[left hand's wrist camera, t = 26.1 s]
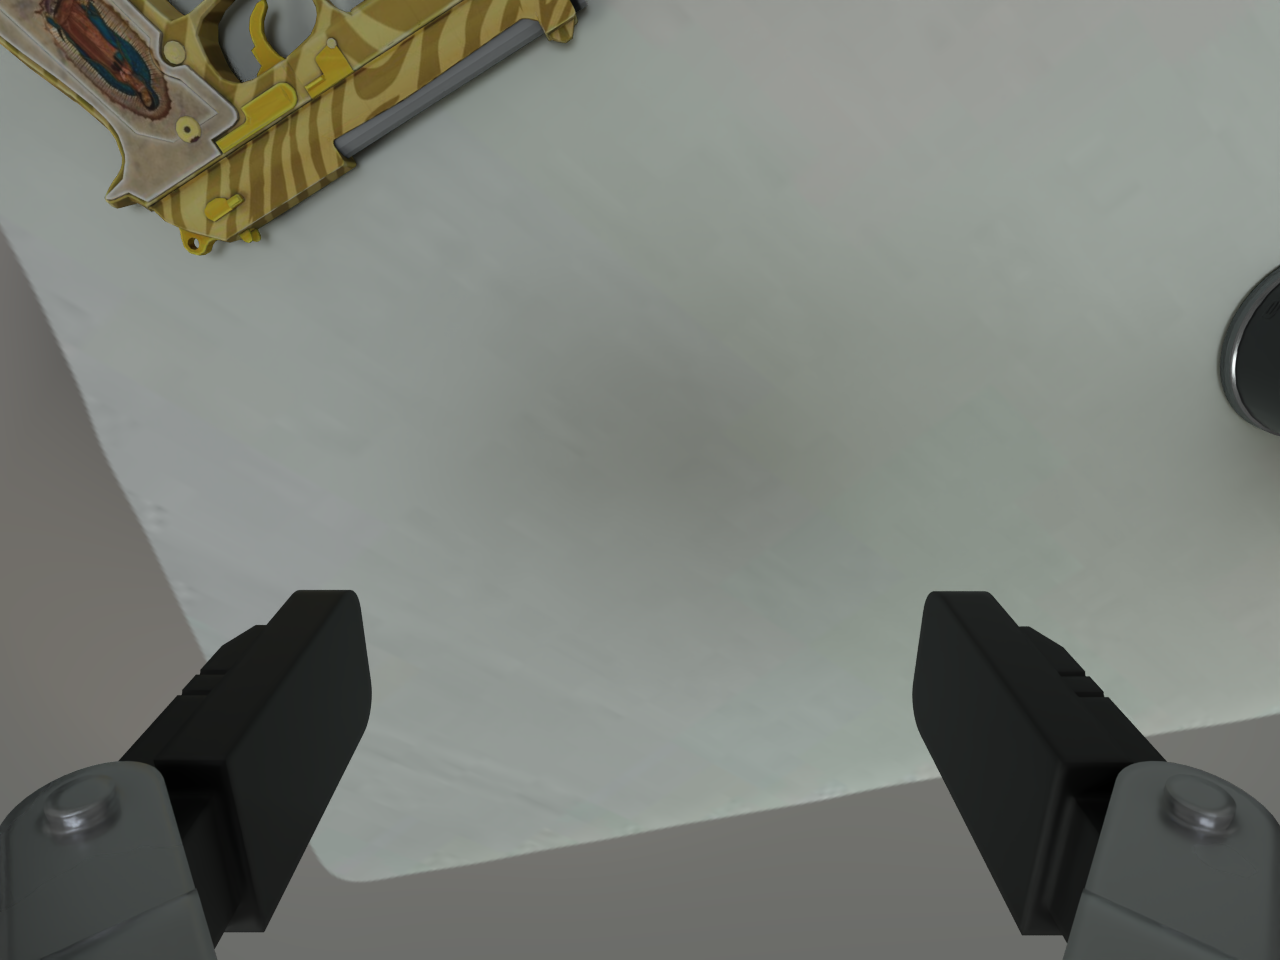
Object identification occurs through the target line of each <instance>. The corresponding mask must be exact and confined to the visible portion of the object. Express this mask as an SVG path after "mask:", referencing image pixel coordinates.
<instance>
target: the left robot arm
mask: <svg viewBox="0 0 1280 960" xmlns="http://www.w3.org/2000/svg"><path fill="white" fill-rule="evenodd" d="M1220 373H1221V381H1222V385H1223V389H1224V392H1225V394H1226V397H1227V399H1228V401H1229V402H1230V404H1231V406H1232V407H1233V408H1234V410H1235V411H1236V412H1237V413H1238V414H1239V415H1240V416H1241V417H1242V418H1243V419H1244V420H1246V421H1247V422H1248V423H1250V424H1252V425H1253V426H1255V427H1257V428H1260V429H1262V430H1265V431H1267V432H1270V433H1272V434H1275V435H1278V436H1280V268H1278V269H1277V270H1275V271H1274V272H1273V273H1271V274H1270V275H1269V276H1268V277H1266V278H1265V279H1264V280H1263V281H1262V282H1261V283H1260V284H1259V285H1258V286H1257V287H1256V288H1255V289H1254V290H1253V291H1252V292H1251V293H1250V294H1249V296H1248V297H1247V298H1246V299H1245V301H1244V302H1243V303H1242V305H1241V306H1240V308H1239V309H1238V311H1237V312H1236V314H1235V316H1234V318H1233V320H1232V322H1231V324H1230V326H1229V328H1228V331H1227V333H1226V336H1225V339H1224V343H1223V347H1222V352H1221V361H1220ZM912 699H913V710H914V716H915V721H916V724H917V727H918V730H919V733H920V735H921V737H922V739H923V741H924V743H925V745H926V747H927V749H928V751H929V752H930V754H931V756H932V758H933V760H934V762H935V764H936V766H937V768H938V770H939V772H940V774H941V776H942V778H943V780H944V782H945V784H946V786H947V788H948V790H949V792H950V794H951V796H952V798H953V800H954V802H955V804H956V806H957V808H958V810H959V812H960V814H961V816H962V818H963V820H964V822H965V824H966V826H967V827H968V829H969V831H970V833H971V835H972V837H973V839H974V841H975V843H976V845H977V847H978V849H979V851H980V853H981V855H982V857H983V859H984V861H985V863H986V865H987V867H988V869H989V871H990V873H991V875H992V877H993V879H994V881H995V883H996V885H997V887H998V889H999V891H1000V893H1001V895H1002V897H1003V899H1004V901H1005V902H1006V905H1007V906H1008V908H1009V910H1010V912H1011V914H1012V916H1013V918H1014V920H1015V922H1016V924H1017V926H1018V928H1019V930H1020V932H1021V934H1022V935H1063V937H1064V939H1065V940H1066V942H1067V946H1066V950H1065V953H1064V957H1063V960H1280V825H1279V824H1278V822H1277V821H1276V819H1275V818H1274V817H1273V815H1272V814H1271V813H1270V812H1269V811H1268V810H1267V809H1266V808H1265V807H1264V806H1263V805H1262V804H1261V803H1259V802H1258V801H1257V800H1256V799H1255V798H1253V797H1252V796H1251V795H1249V794H1248V793H1246V792H1245V791H1243V790H1242V789H1240V788H1239V787H1237V786H1235V785H1233V784H1232V783H1230V782H1228V781H1226V780H1224V779H1222V778H1220V777H1218V776H1216V775H1213V774H1210V773H1208V772H1205V771H1203V770H1200V769H1197V768H1193V767H1190V766H1186V765H1182V764H1177V763H1171V762H1167V761H1166V760H1165V759H1164V758H1163V757H1162V756H1161V755H1160V754H1159V752H1158V751H1157V750H1156V749H1155V748H1154V747H1153V746H1152V745H1151V744H1150V743H1149V741H1148V740H1147V739H1146V738H1145V737H1144V736H1143V735H1142V734H1141V733H1140V731H1139V730H1138V729H1137V728H1136V727H1135V726H1134V725H1133V724H1132V723H1131V722H1130V720H1129V719H1128V718H1127V717H1126V716H1125V715H1124V714H1123V713H1122V712H1121V711H1120V709H1119V708H1118V707H1117V706H1116V705H1115V704H1114V703H1113V702H1112V701H1111V700H1110V698H1109V697H1104V692H1103V691H1102V690H1101V688H1100V687H1099V686H1098V685H1097V684H1096V683H1095V682H1094V681H1093V680H1092V679H1091V677H1090V676H1085V671H1084V670H1083V669H1082V668H1081V666H1080V665H1079V664H1078V663H1077V662H1076V661H1075V660H1074V659H1073V658H1072V657H1071V655H1070V654H1069V653H1068V652H1067V651H1066V650H1065V649H1064V648H1063V647H1062V646H1060V645H1059V644H1057V643H1055V642H1054V641H1052V640H1050V639H1049V638H1047V637H1045V636H1044V635H1042V634H1041V633H1039V632H1037V631H1036V630H1034V629H1032V628H1031V627H1019V626H1018V625H1017V624H1016V623H1015V622H1014V620H1013V619H1012V618H1011V617H1010V616H1009V615H1008V613H1007V612H1006V611H1005V610H1004V609H1003V607H1002V606H1001V605H1000V604H999V603H998V602H997V600H996V599H995V598H994V597H993V596H992V595H991V594H990V593H989V592H986V591H933V592H931V593H930V594H929V595H928V597H927V599H926V601H925V605H924V610H923V617H922V624H921V631H920V638H919V645H918V652H917V659H916V667H915V674H914V681H913V691H912ZM371 700H372V687H371V678H370V671H369V664H368V657H367V650H366V643H365V635H364V628H363V621H362V614H361V607H360V602H359V599H358V597H357V595H356V593H355V592H354V591H352V590H297V591H296V592H294V593H293V594H292V595H291V596H290V598H289V599H288V600H287V601H286V602H285V604H284V605H283V606H282V607H281V608H280V610H279V611H278V612H277V613H276V614H275V615H274V617H273V618H272V619H271V620H270V621H269V623H268V624H267V625H255V626H253V627H252V628H250V629H249V630H247V631H245V632H244V633H242V634H240V635H239V636H237V637H236V638H234V639H232V640H231V641H229V642H227V643H226V644H224V645H222V646H221V648H220V649H219V650H218V651H217V652H216V653H215V654H214V655H213V656H212V658H211V659H210V660H209V661H208V662H207V663H206V664H205V665H204V666H203V668H202V669H201V670H200V675H195V676H194V678H193V679H192V680H191V681H190V682H189V683H188V684H187V685H186V686H185V688H184V689H183V690H182V695H177V697H176V698H175V699H174V700H173V701H172V702H171V703H170V704H169V706H167V708H166V709H165V710H164V711H163V712H162V713H161V714H160V715H159V716H158V718H157V719H156V720H155V721H154V722H153V723H152V724H151V725H150V727H149V728H148V729H147V730H146V731H145V732H144V733H143V734H142V735H141V736H140V738H139V739H138V740H137V741H136V742H135V743H134V744H133V745H132V746H131V748H130V749H129V750H128V751H127V752H126V753H125V754H124V755H123V757H122V758H121V759H120V760H119V761H117V762H109V763H103V764H98V765H94V766H90V767H87V768H83V769H80V770H77V771H75V772H72V773H70V774H67V775H64V776H62V777H60V778H58V779H56V780H54V781H52V782H50V783H48V784H47V785H45V786H43V787H41V788H40V789H38V790H37V791H35V792H34V793H32V794H31V795H29V796H28V797H27V798H25V799H24V800H23V801H22V802H21V803H19V804H18V805H17V806H16V807H15V808H14V809H13V810H12V811H11V812H10V813H9V814H8V815H7V817H6V818H5V819H4V821H3V822H2V824H1V825H0V960H217V957H216V953H215V950H214V949H215V947H216V946H217V944H218V942H219V940H220V938H221V936H222V935H223V933H224V932H264V931H265V929H266V927H267V925H268V923H269V921H270V919H271V917H272V915H273V913H274V911H275V909H276V907H277V905H278V903H279V901H280V899H281V897H282V895H283V893H284V891H285V889H286V887H287V885H288V883H289V881H290V879H291V877H292V875H293V873H294V871H295V869H296V867H297V865H298V863H299V861H300V859H301V857H302V855H303V853H304V851H305V849H306V847H307V845H308V843H309V841H310V839H311V837H312V835H313V833H314V831H315V829H316V827H317V825H318V823H319V821H320V819H321V817H322V815H323V813H324V811H325V809H326V807H327V805H328V803H329V801H330V799H331V797H332V795H333V793H334V791H335V789H336V787H337V785H338V783H339V781H340V779H341V777H342V775H343V773H344V771H345V770H346V768H347V766H348V764H349V762H350V760H351V758H352V756H353V754H354V752H355V750H356V748H357V746H358V744H359V742H360V740H361V738H362V736H363V734H364V731H365V729H366V726H367V723H368V720H369V715H370V709H371Z"/></svg>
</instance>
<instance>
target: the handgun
mask: <svg viewBox="0 0 1280 960" xmlns="http://www.w3.org/2000/svg"><path fill="white" fill-rule="evenodd" d="M234 1H235V0H204V1H203V2H201V3H200V4H199V5H198V6H197V7H196V8H195V9H194V10H192V11H191V12H190V13H189V14H187V15H183V14H181V13H180V12H179V11H177V10H176V9H175V8H174V7H173V6H172V5H171V4H170V3H169V2H168V1H167V0H0V44H1V45H3V46H4V47H5V48H6V49H7V50H9V51H10V52H11V53H12V54H13V55H15V56H16V57H17V58H18V59H19V60H21V61H22V62H23V63H24V64H25V65H27V66H28V67H29V68H30V69H32V70H33V71H34V72H36V73H37V74H38V75H40V76H41V77H42V78H44V79H45V80H46V81H48V82H49V83H51V84H52V85H53V86H55V87H56V88H57V89H59V90H60V91H61V92H63V93H64V94H65V95H67V96H68V97H69V98H71V99H72V100H73V101H75V102H77V103H78V104H79V105H81V106H82V107H83V108H84V109H85V110H87V111H88V112H89V113H90V114H91V115H93V116H94V117H95V118H96V119H97V120H98V121H99V122H101V123H102V124H103V125H104V126H105V127H106V128H107V129H108V130H109V131H110V132H111V133H112V135H113V136H114V137H115V139H116V142H117V144H118V147H119V150H120V153H121V155H122V166H121V169H120V171H119V173H118V175H117V176H116V178H115V179H114V180H113V182H112V184H111V186H110V187H109V189H108V191H107V194H106V196H105V200H106V202H108V203H109V204H110V205H111V206H113V207H115V208H117V209H118V208H122V207H125V206H129V205H133V204H136V203H139V204H141V205H142V206H144V207H145V208H147V209H148V210H150V211H151V212H152V211H155V212H156V213H157V214H158V215H159V216H160V217H161V218H162V219H163V220H164V221H166V222H168V223H170V224H172V225H174V226H177V227H179V230H180V233H181V239H182V242H183V245H184V247H185V248H186V249H187V250H188V252H189V253H191V254H195V255H206V254H207V253H209V252H210V251H211V250H212V247H213V244H214V243H215V241H217V240H222V241H226V242H229V243H230V242H233V241H237V240H240V239H243V240H244V241H245V242H248V243H250V242H252V241H255V242H258V241H260V240H261V235H260V233H259V231H258V229H259V228H260V227H262V226H263V225H265V224H267V223H268V222H270V221H271V220H273V219H274V218H276V217H278V216H279V215H281V214H282V213H284V212H285V211H287V210H289V209H290V208H292V207H293V206H295V205H296V204H298V203H300V202H301V201H303V200H304V199H306V198H307V197H309V196H310V195H312V194H314V193H315V192H317V191H318V190H320V189H321V188H323V187H325V186H326V185H328V184H329V183H331V182H332V181H334V180H336V179H337V178H339V177H340V176H342V175H343V174H345V173H347V172H348V171H350V170H351V169H353V168H354V167H356V162H355V160H354V159H353V157H352V156H353V155H354V154H356V153H357V152H359V151H361V150H362V149H364V148H365V147H367V146H368V145H370V144H371V143H373V142H375V141H376V140H378V139H379V138H381V137H382V136H384V135H386V134H387V133H389V132H390V131H392V130H393V129H395V128H397V127H398V126H400V125H401V124H403V123H404V122H406V121H407V120H409V119H411V118H412V117H414V116H415V115H417V114H418V113H420V112H422V111H423V110H425V109H426V108H428V107H429V106H431V105H432V104H434V103H436V102H437V101H439V100H440V99H442V98H443V97H445V96H447V95H448V94H450V93H451V92H453V91H454V90H456V89H458V88H459V87H461V86H462V85H464V84H465V83H467V82H468V81H470V80H472V79H473V78H475V77H476V76H478V75H479V74H481V73H483V72H484V71H486V70H487V69H489V68H490V67H492V66H493V65H495V64H497V63H498V62H500V61H501V60H503V59H504V58H506V57H508V56H509V55H511V54H512V53H514V52H515V51H517V50H518V49H520V48H522V47H523V46H525V45H526V44H528V43H529V42H531V41H533V40H534V39H536V38H537V37H539V36H540V35H542V34H544V33H545V35H546V37H547V39H548V40H549V41H551V40H554V41H557V42H561V43H567V42H568V41H570V40H571V39H572V38H573V32H574V26H575V25H576V24H577V22H578V19H577V16H576V12H578V11H579V10H581V9H583V8H584V7H586V6H587V4H588V3H587V0H364V1H363V2H361V3H360V4H358V5H357V6H355V7H354V8H353V9H351V12H344V11H342V10H340V9H338V8H336V7H335V6H334V5H333V4H332V3H331V2H330V1H329V0H313V2H314V4H315V6H316V11H317V18H316V23H315V26H314V28H313V30H312V33H311V35H310V36H309V37H308V38H307V39H306V40H305V41H304V42H303V43H302V44H301V45H300V46H298V47H297V48H296V49H295V50H294V51H293V52H292V53H291V54H290V55H289V56H288V57H287V58H286V59H285V58H283V57H282V56H280V55H279V54H278V53H277V52H276V51H275V50H274V49H273V48H272V46H271V45H270V44H269V42H268V41H267V38H266V36H265V33H264V20H265V16H266V13H267V9H268V5H267V2H266V0H261V1H260V2H258V3H257V4H256V6H255V8H254V10H253V12H252V14H251V16H250V24H249V30H250V34H251V38H252V41H253V43H254V45H255V47H254V48H253V49H252V50H251V51H252V53H253V54H254V56H255V58H256V59H257V60H258V62H259V63H260V65H261V68H260V70H259V72H258V74H257V77H256V78H255V79H252V80H249V81H246V82H243V83H241V82H240V81H239V80H238V79H237V78H236V76H235V75H234V74H233V72H232V71H231V70H230V68H229V66H228V64H227V62H226V60H225V58H224V56H223V53H222V51H221V48H220V46H219V43H218V24H219V23H220V21H221V19H222V17H223V15H224V13H225V11H226V10H227V9H228V8H229V7H230V5H231V4H232V3H233V2H234ZM195 238H196V239H197V240H198V241H199V248H197V247H196V246H195V244H194V240H195Z"/></svg>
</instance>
